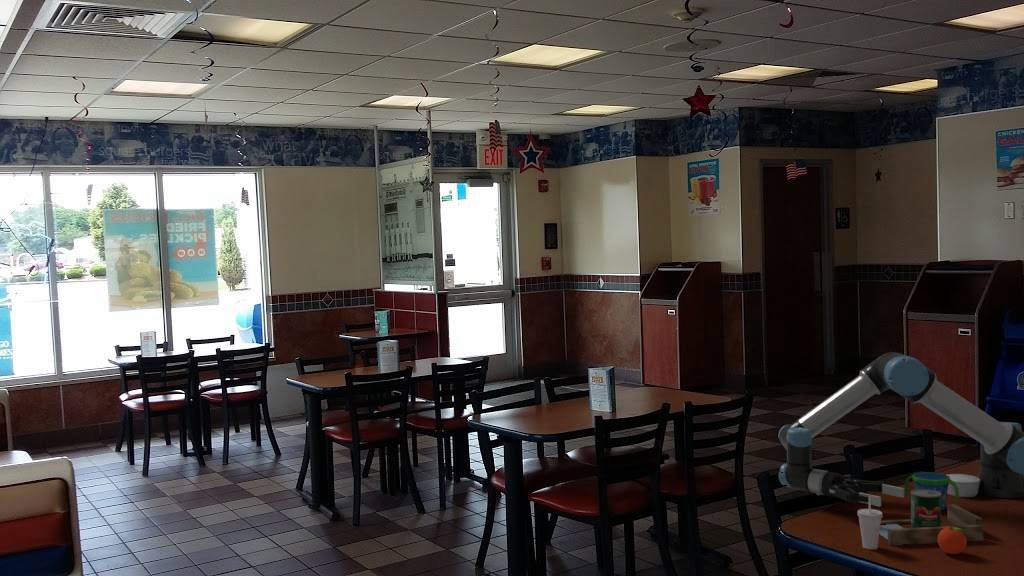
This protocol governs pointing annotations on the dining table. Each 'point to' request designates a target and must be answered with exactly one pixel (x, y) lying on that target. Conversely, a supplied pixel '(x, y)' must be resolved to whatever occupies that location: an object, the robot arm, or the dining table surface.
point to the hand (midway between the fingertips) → (892, 497)
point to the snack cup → (933, 484)
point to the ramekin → (964, 485)
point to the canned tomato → (925, 508)
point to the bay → (937, 528)
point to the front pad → (885, 528)
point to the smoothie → (870, 526)
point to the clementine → (952, 540)
